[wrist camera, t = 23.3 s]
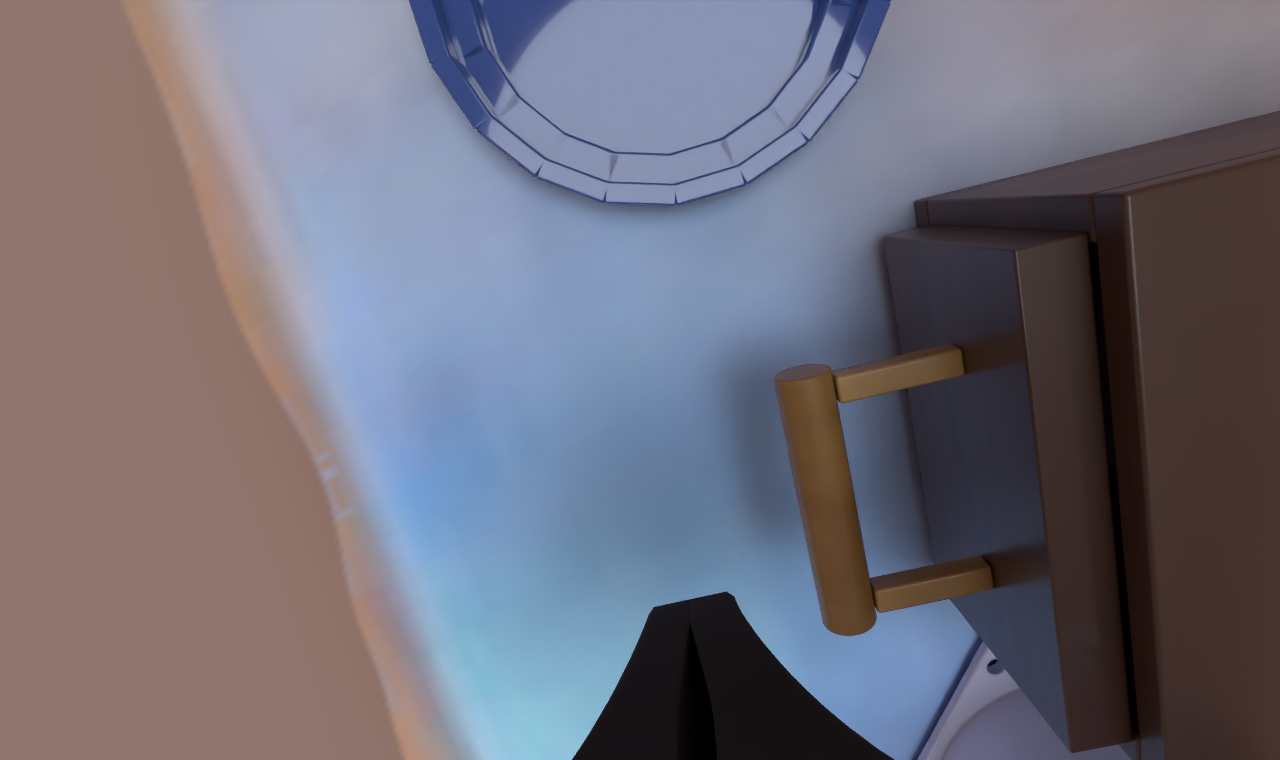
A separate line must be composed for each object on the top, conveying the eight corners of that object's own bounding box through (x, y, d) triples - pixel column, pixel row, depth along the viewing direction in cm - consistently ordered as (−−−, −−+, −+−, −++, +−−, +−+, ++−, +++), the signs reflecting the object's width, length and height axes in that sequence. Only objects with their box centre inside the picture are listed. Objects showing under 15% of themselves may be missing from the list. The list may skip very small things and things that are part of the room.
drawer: (804, 612, 20) (876, 792, 14) (733, 272, 17) (780, 305, 11) (1417, 483, 19) (1794, 615, 13) (1426, 104, 16) (1891, 40, 10)
